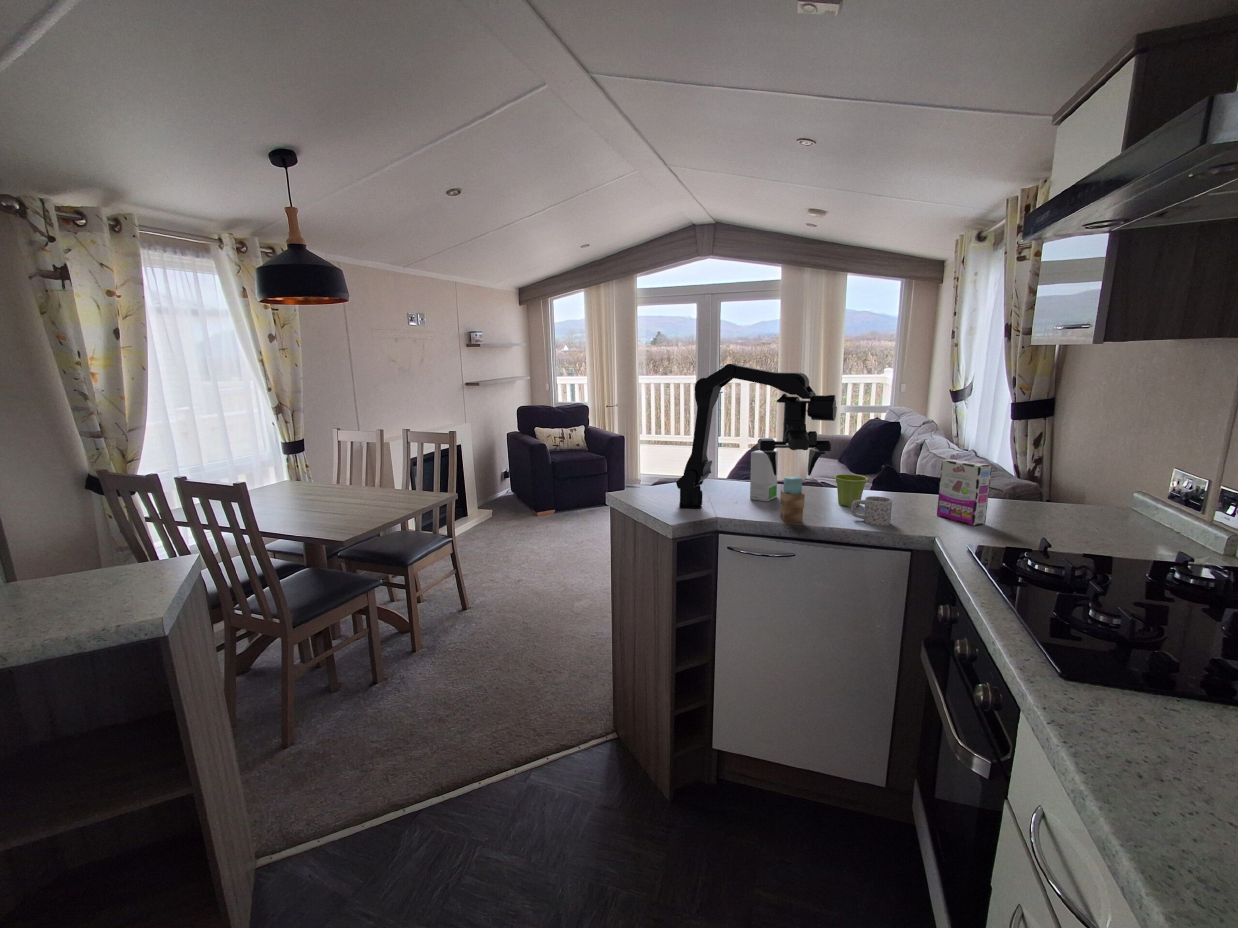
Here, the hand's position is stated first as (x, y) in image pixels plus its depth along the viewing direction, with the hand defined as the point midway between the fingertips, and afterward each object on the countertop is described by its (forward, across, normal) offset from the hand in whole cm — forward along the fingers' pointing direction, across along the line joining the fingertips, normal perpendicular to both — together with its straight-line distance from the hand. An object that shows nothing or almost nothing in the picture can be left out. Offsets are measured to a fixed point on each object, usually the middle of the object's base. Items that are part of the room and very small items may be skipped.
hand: (791, 475), depth 148 cm
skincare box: (+13, -4, +24) cm, 27 cm away
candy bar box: (+13, +46, +2) cm, 48 cm away
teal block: (+5, 0, 0) cm, 5 cm away
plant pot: (+13, +21, +17) cm, 30 cm away
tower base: (+13, 0, 0) cm, 13 cm away
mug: (+13, +21, -1) cm, 25 cm away
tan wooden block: (+9, 0, 0) cm, 9 cm away
